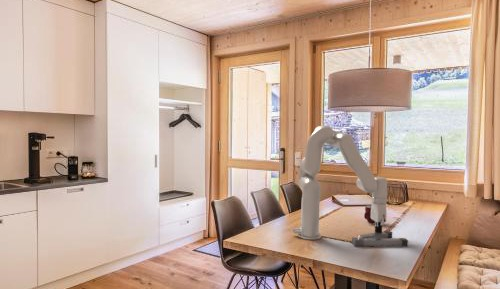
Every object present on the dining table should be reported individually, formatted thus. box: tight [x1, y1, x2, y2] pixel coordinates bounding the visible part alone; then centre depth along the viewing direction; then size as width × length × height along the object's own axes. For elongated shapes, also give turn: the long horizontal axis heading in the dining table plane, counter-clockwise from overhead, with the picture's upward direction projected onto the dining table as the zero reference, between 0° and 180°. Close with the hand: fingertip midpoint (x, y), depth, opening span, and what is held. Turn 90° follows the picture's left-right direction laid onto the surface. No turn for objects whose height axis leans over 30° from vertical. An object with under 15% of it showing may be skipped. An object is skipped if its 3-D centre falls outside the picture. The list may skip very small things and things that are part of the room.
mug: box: [363, 204, 375, 224], centre depth 214 cm, size 11×8×10 cm
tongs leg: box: [356, 230, 393, 238], centre depth 182 cm, size 22×3×3 cm, turn 115°
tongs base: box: [351, 235, 409, 248], centre depth 174 cm, size 27×5×4 cm, turn 93°
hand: (378, 233), depth 188 cm, fingers closed
